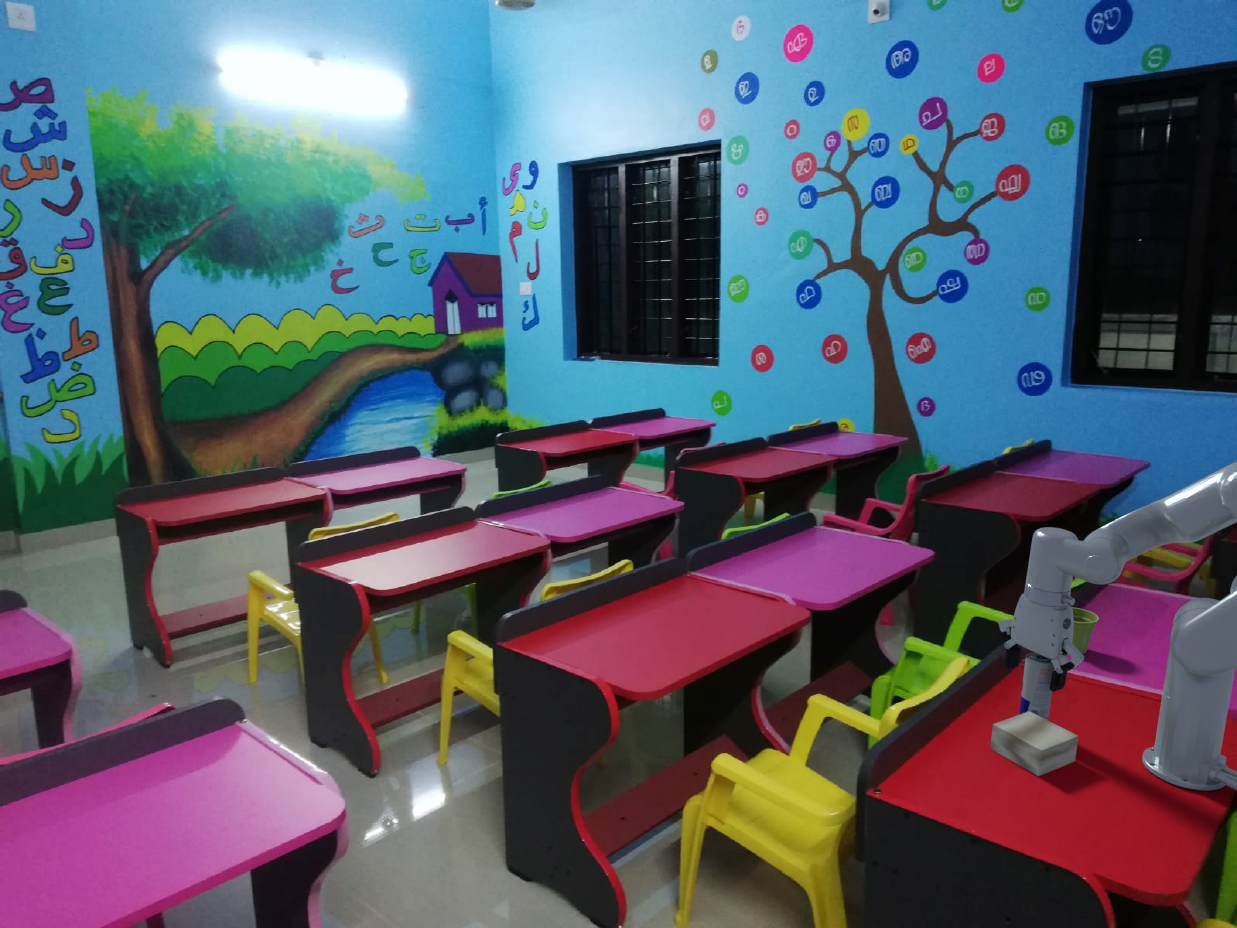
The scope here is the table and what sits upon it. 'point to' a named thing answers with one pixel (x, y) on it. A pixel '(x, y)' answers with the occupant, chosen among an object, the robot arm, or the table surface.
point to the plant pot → (1083, 628)
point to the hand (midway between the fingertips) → (1033, 678)
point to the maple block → (1034, 743)
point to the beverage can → (1036, 685)
